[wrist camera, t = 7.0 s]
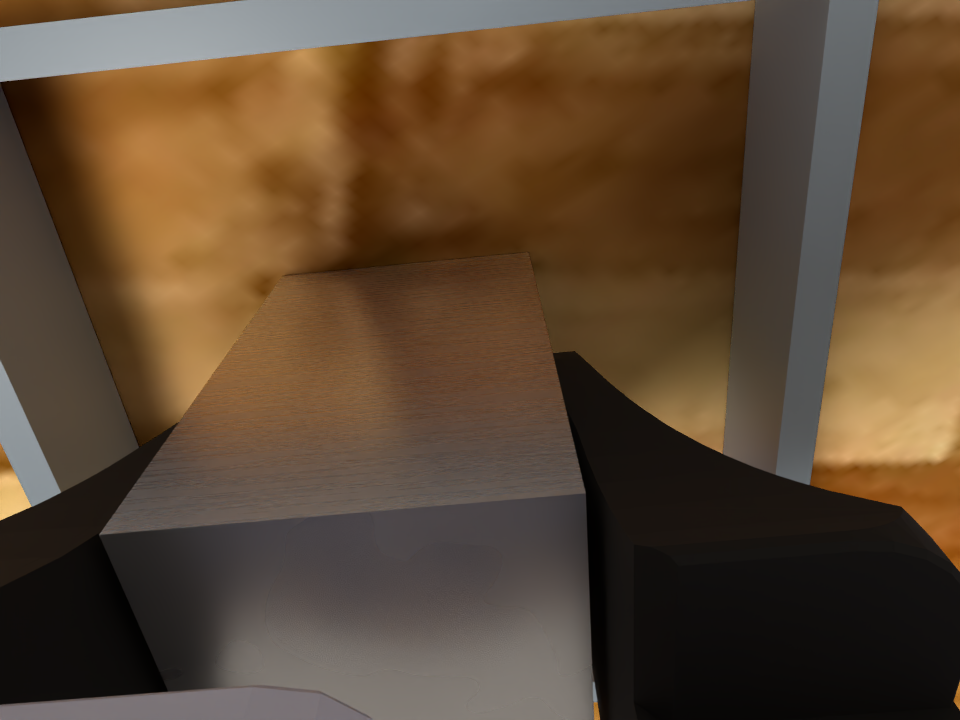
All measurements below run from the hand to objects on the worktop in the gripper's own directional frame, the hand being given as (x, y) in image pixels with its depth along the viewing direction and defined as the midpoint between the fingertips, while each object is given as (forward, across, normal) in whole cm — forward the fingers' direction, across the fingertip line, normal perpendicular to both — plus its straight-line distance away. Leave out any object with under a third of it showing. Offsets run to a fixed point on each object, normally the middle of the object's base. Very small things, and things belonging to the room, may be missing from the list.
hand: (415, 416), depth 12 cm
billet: (+2, 0, 0) cm, 2 cm away
